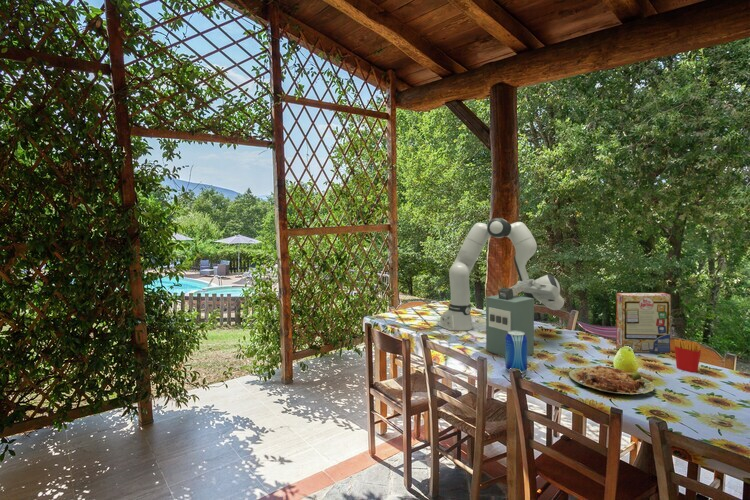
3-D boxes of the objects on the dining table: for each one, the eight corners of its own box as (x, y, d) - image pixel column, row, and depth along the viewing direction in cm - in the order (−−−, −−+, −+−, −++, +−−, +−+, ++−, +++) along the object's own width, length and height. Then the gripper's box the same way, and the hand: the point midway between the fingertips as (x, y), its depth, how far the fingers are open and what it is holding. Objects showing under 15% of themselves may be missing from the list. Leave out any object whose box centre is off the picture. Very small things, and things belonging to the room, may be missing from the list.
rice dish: (568, 367, 163) (567, 355, 163) (646, 374, 151) (646, 361, 151) (569, 394, 138) (569, 379, 138) (663, 405, 126) (663, 389, 126)
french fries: (701, 371, 152) (702, 342, 151) (697, 374, 150) (698, 344, 149) (675, 365, 159) (676, 337, 159) (671, 367, 157) (672, 338, 156)
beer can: (528, 375, 153) (529, 336, 152) (506, 374, 155) (506, 335, 153) (525, 367, 161) (525, 330, 160) (504, 366, 163) (504, 329, 162)
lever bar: (499, 298, 178) (497, 290, 178) (527, 284, 190) (526, 276, 189) (508, 299, 174) (506, 291, 173) (536, 285, 186) (535, 277, 185)
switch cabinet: (484, 351, 182) (483, 297, 181) (505, 344, 191) (504, 293, 189) (512, 360, 169) (512, 302, 167) (533, 353, 178) (533, 298, 176)
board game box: (663, 349, 179) (664, 292, 177) (670, 354, 173) (672, 295, 171) (615, 348, 182) (616, 292, 180) (621, 352, 176) (622, 294, 174)
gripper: (526, 284, 202) (512, 274, 195) (563, 289, 185) (549, 278, 178) (522, 295, 201) (508, 285, 194) (559, 301, 184) (545, 290, 177)
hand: (528, 281), depth 186 cm, fingers closed on lever bar, 3 cm apart
